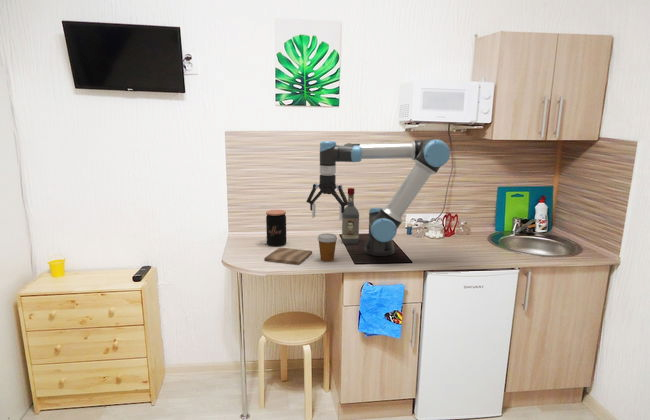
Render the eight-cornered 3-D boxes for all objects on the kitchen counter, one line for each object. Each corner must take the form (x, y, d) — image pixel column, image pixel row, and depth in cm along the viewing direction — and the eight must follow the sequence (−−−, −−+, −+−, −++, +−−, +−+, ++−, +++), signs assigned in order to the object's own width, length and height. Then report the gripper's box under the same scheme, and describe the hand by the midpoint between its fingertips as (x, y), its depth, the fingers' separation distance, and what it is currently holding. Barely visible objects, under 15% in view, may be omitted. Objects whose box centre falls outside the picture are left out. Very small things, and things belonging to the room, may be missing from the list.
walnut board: (312, 253, 222) (312, 250, 222) (299, 265, 206) (299, 261, 205) (279, 250, 228) (279, 247, 227) (264, 261, 211) (264, 258, 211)
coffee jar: (262, 245, 237) (262, 212, 233) (274, 240, 246) (273, 208, 242) (279, 247, 232) (278, 214, 228) (290, 242, 241) (289, 210, 237)
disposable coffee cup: (335, 263, 208) (335, 238, 206) (315, 261, 210) (315, 237, 208) (338, 256, 217) (338, 233, 215) (319, 255, 219) (319, 232, 217)
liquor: (342, 239, 248) (342, 187, 242) (358, 239, 248) (359, 187, 241) (341, 243, 239) (342, 189, 233) (358, 244, 239) (359, 190, 232)
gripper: (299, 174, 205) (299, 218, 210) (351, 176, 198) (350, 222, 202) (305, 172, 212) (305, 214, 217) (355, 174, 205) (354, 218, 209)
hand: (327, 218), depth 209 cm, fingers open, 13 cm apart
